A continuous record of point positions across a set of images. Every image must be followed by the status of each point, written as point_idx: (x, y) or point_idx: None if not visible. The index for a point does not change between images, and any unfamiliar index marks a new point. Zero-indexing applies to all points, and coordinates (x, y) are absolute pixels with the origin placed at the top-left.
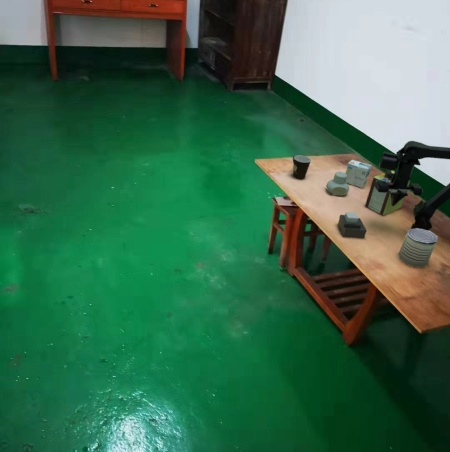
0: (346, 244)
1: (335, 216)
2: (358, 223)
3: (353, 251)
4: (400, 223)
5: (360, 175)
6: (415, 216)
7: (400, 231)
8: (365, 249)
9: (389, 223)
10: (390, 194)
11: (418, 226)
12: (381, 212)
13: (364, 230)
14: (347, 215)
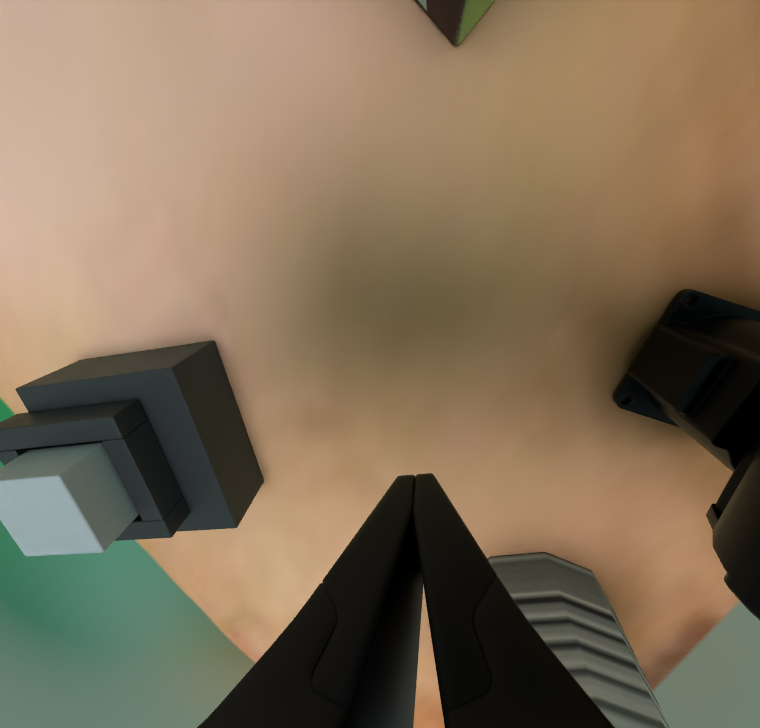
0: (174, 547)
1: (32, 241)
2: (147, 526)
3: (215, 590)
4: (624, 167)
5: None
6: (736, 595)
7: (562, 328)
8: (273, 569)
9: (497, 209)
10: (254, 668)
11: (714, 525)
12: (440, 14)
13: (222, 528)
14: (8, 529)
